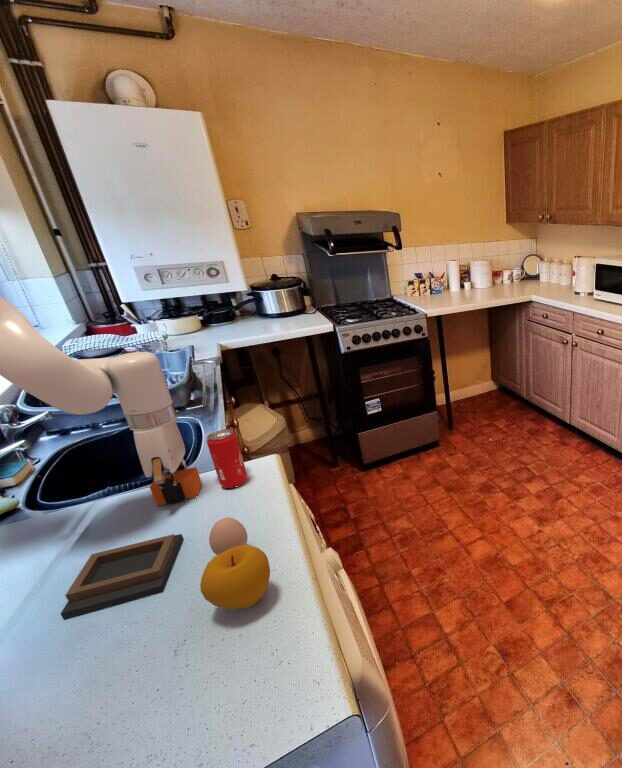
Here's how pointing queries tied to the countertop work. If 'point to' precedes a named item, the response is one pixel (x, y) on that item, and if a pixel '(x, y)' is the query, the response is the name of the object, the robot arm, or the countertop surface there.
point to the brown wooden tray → (122, 575)
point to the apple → (236, 578)
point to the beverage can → (227, 458)
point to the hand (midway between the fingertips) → (179, 493)
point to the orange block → (188, 482)
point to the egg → (227, 535)
